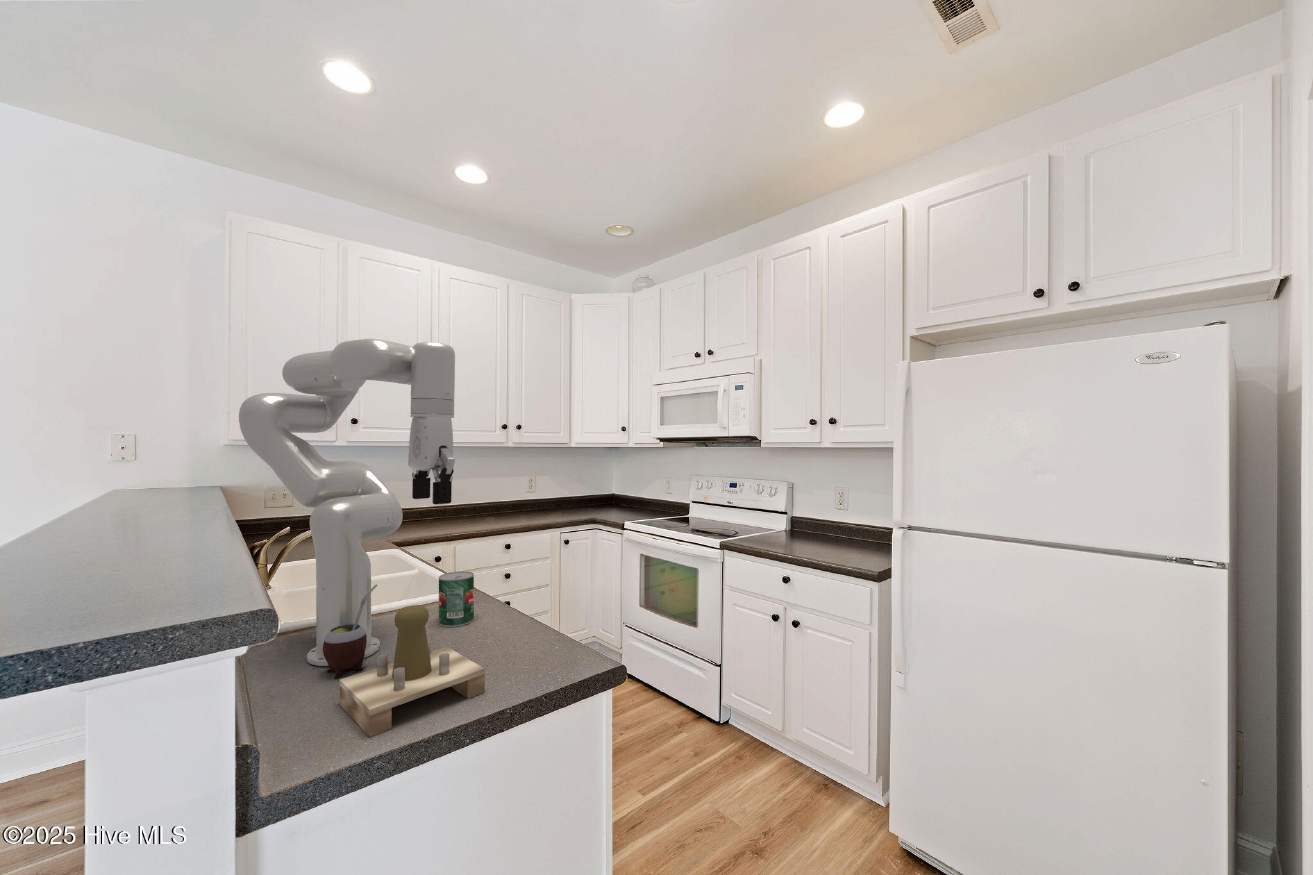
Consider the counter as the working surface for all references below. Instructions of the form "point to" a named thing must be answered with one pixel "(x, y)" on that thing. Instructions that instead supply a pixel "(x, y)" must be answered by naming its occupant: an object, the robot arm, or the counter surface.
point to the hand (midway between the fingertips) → (431, 501)
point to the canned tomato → (456, 599)
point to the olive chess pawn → (412, 642)
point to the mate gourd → (346, 646)
